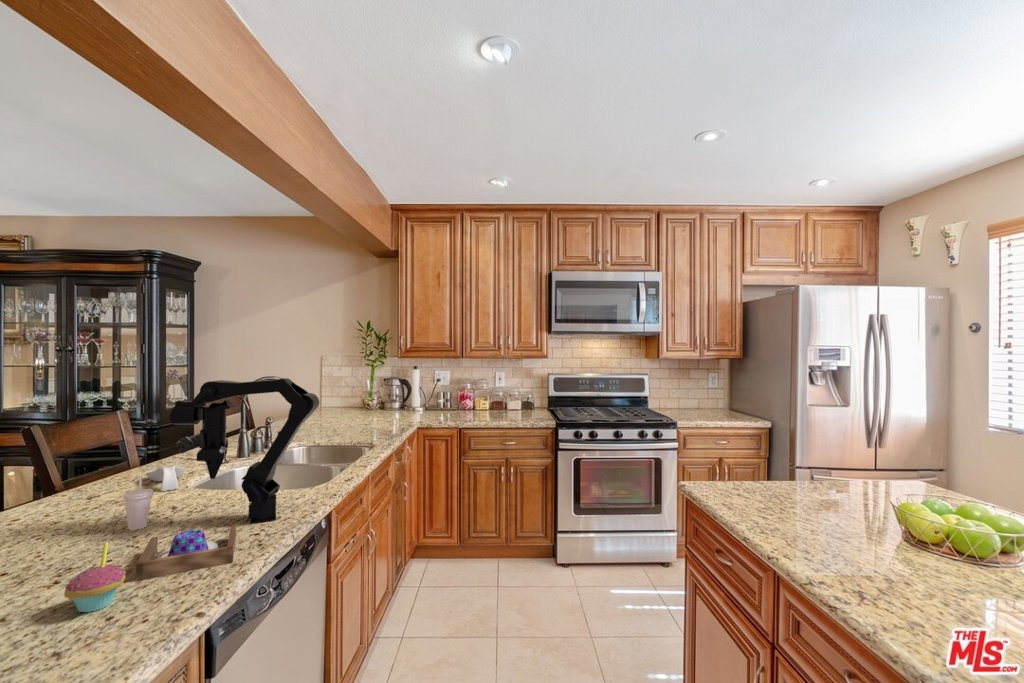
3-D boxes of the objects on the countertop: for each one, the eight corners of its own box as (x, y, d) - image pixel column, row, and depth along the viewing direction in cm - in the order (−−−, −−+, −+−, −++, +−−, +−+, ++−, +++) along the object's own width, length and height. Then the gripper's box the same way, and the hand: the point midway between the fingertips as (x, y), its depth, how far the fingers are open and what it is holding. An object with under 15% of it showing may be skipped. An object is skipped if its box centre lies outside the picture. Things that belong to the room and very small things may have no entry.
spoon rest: (144, 479, 165) (144, 460, 165) (183, 473, 173) (183, 455, 173) (148, 495, 147) (149, 473, 148) (191, 488, 155) (192, 467, 156)
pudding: (186, 570, 98) (187, 546, 98) (142, 565, 100) (143, 541, 101) (230, 547, 110) (230, 525, 110) (189, 542, 112) (190, 522, 112)
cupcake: (91, 594, 88) (93, 533, 88) (136, 593, 88) (139, 533, 89) (49, 620, 79) (52, 553, 79) (100, 619, 80) (103, 552, 80)
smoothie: (134, 533, 116) (136, 480, 117) (115, 531, 118) (117, 478, 118) (158, 524, 123) (160, 474, 123) (139, 522, 124) (141, 472, 124)
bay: (235, 538, 115) (236, 524, 115) (232, 562, 101) (233, 547, 102) (150, 552, 106) (151, 537, 106) (135, 581, 93) (135, 564, 93)
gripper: (184, 421, 131) (183, 474, 130) (173, 431, 114) (171, 491, 114) (229, 419, 136) (227, 469, 136) (224, 428, 120) (223, 486, 120)
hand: (212, 478), depth 126 cm, fingers closed
